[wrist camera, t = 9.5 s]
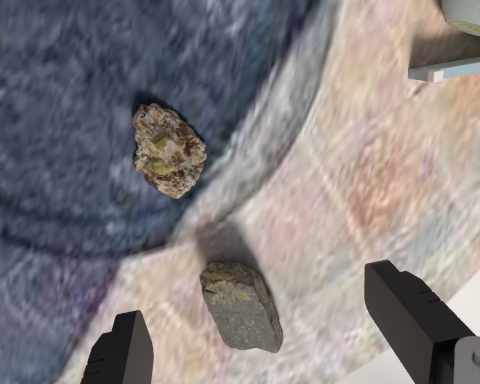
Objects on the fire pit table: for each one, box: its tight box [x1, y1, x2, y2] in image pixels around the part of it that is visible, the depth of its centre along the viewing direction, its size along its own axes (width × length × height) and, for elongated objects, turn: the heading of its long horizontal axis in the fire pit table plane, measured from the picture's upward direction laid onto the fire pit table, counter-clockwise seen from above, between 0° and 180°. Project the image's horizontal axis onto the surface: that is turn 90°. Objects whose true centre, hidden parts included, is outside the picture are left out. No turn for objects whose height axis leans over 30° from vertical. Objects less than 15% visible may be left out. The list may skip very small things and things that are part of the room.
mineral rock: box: [132, 103, 206, 198], centre depth 37 cm, size 11×4×8 cm
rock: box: [200, 261, 283, 353], centre depth 45 cm, size 17×7×10 cm
